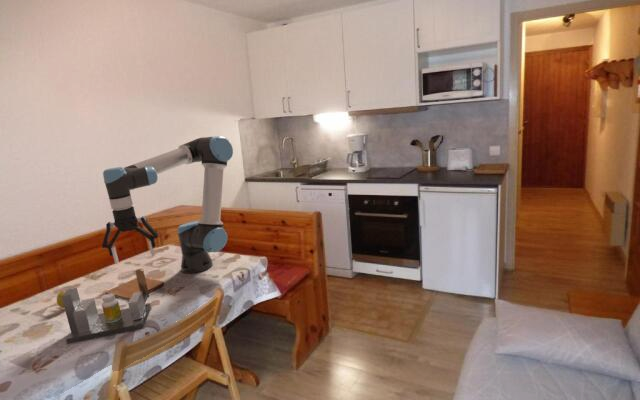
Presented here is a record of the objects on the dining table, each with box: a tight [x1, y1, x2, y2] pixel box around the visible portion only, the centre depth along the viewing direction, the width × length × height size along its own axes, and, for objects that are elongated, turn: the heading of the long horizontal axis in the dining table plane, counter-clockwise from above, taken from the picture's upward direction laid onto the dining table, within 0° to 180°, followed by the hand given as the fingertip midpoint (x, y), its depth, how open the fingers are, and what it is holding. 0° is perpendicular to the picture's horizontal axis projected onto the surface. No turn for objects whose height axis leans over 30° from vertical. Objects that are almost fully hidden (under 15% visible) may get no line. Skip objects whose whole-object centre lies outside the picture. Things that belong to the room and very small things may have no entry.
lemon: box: [56, 290, 67, 309], centre depth 165 cm, size 6×6×8 cm
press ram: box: [127, 268, 150, 320], centre depth 152 cm, size 3×19×13 cm, turn 13°
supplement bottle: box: [101, 292, 122, 323], centre depth 146 cm, size 5×5×10 cm
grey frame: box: [61, 287, 152, 345], centre depth 145 cm, size 25×16×16 cm, turn 103°
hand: (135, 259), depth 156 cm, fingers open, 13 cm apart
